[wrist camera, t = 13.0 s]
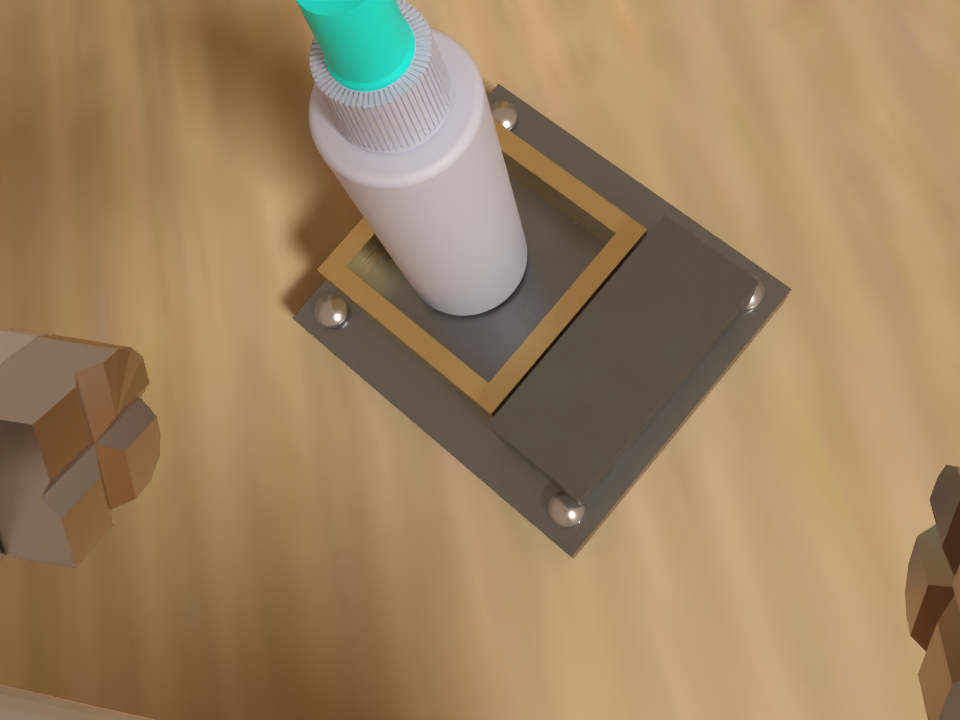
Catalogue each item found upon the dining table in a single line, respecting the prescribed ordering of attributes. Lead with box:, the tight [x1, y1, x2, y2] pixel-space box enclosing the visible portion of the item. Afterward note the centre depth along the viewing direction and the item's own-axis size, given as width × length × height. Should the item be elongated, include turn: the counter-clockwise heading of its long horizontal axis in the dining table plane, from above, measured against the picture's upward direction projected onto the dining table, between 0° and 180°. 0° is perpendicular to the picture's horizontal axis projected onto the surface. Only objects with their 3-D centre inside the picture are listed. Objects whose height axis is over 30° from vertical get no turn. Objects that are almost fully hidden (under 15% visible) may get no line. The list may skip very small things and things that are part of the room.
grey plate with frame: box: [293, 84, 791, 558], centre depth 43 cm, size 16×18×6 cm
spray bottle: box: [296, 0, 527, 316], centre depth 35 cm, size 6×6×22 cm
